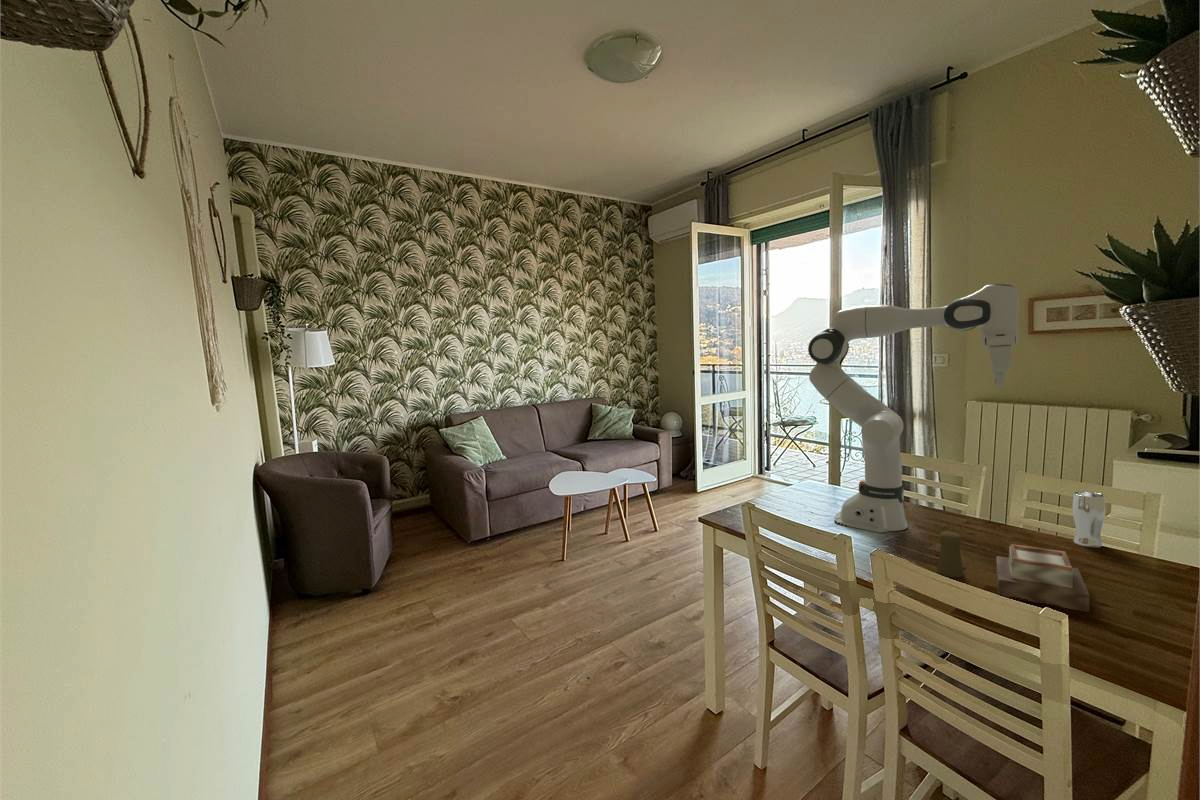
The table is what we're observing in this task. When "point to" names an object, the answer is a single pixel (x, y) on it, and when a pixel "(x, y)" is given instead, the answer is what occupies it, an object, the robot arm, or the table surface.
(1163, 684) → the table surface
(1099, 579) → the table surface
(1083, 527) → the beer glass
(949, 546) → the cork
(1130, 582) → the table surface
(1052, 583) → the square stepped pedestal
